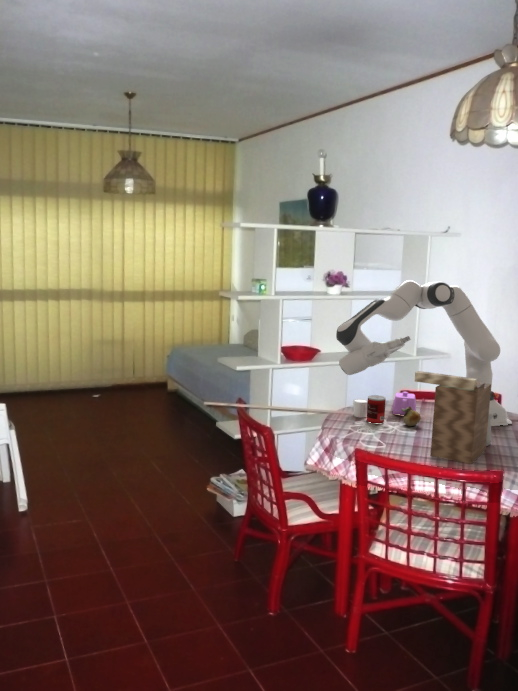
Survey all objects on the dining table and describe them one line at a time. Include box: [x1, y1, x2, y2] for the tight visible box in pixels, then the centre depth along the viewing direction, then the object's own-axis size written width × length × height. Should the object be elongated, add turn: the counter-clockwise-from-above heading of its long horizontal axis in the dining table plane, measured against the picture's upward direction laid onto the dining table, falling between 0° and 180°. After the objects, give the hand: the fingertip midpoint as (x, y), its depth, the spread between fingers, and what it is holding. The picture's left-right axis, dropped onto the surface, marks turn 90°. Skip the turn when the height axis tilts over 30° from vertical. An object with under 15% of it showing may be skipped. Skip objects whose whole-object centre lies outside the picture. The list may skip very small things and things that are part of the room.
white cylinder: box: [352, 398, 368, 418], centre depth 302 cm, size 7×7×7 cm
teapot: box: [392, 391, 417, 415], centre depth 309 cm, size 18×10×10 cm, turn 167°
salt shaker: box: [486, 412, 493, 447], centre depth 265 cm, size 6×6×13 cm
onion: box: [401, 407, 422, 427], centre depth 289 cm, size 8×8×8 cm
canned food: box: [366, 394, 387, 424], centre depth 293 cm, size 8×8×11 cm
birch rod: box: [414, 370, 477, 390], centre depth 248 cm, size 22×4×4 cm, turn 58°
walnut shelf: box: [430, 382, 492, 465], centre depth 252 cm, size 15×20×28 cm
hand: (405, 339), depth 262 cm, fingers open, 8 cm apart
